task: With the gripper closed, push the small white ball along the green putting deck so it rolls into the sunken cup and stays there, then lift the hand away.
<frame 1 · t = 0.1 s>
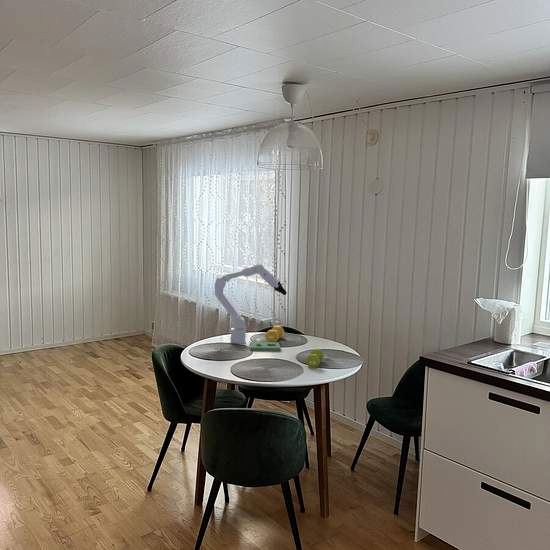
hand: (285, 293, 322), 32 cm above the table, tool tilted 50°, fingers open, 7 cm apart
putting deck: (264, 348, 311), on the table
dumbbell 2: (274, 340, 332), on the table
green grapes: (314, 364, 281), on the table
ball: (258, 342, 310), point 4 cm above the table, touching putting deck
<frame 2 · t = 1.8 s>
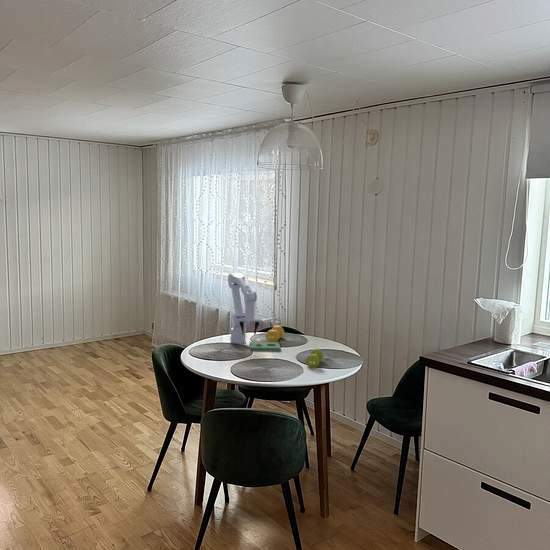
hand: (248, 334, 309), 8 cm above the table, tool pointing down, fingers open, 6 cm apart
nothing on the table moved.
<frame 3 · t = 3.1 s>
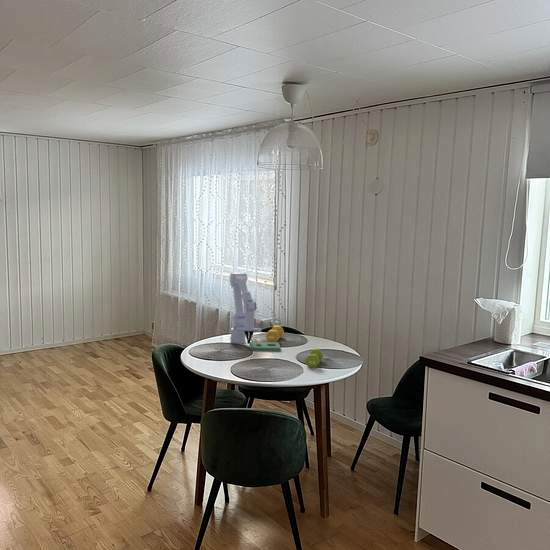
hand: (248, 343, 309), 3 cm above the table, tool pointing down, fingers closed
nothing on the table moved.
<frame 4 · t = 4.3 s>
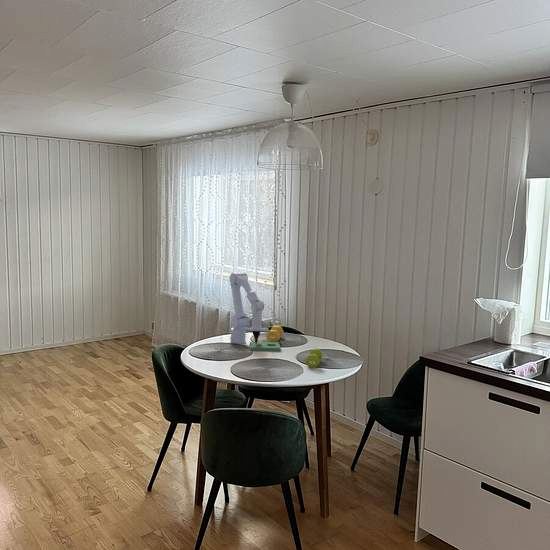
hand: (256, 343, 310), 3 cm above the table, tool pointing down, fingers closed, pressing on ball
ball: (259, 342, 310), point 4 cm above the table, tilted 11°, touching gripper, putting deck
everything else where it was.
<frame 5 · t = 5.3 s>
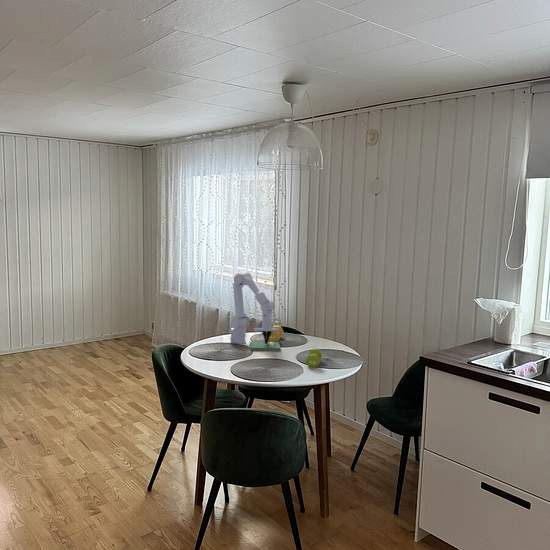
hand: (266, 343, 310), 3 cm above the table, tool pointing down, fingers closed
ball: (271, 345, 311), point 2 cm above the table, tilted 61°, touching putting deck
everything else where it was.
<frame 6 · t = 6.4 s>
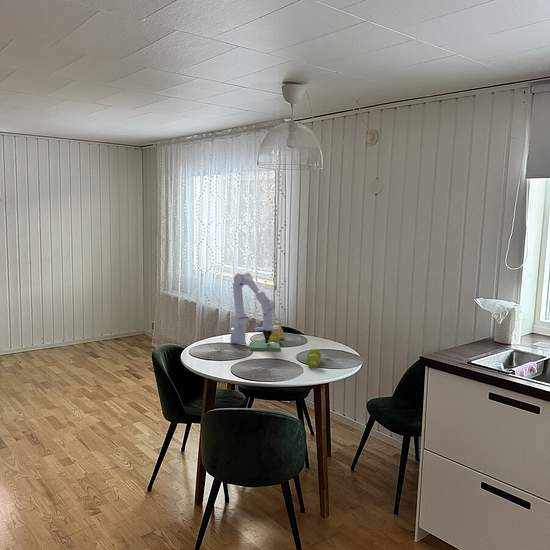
hand: (266, 342, 310), 3 cm above the table, tool pointing down, fingers closed
ball: (272, 344, 311), point 2 cm above the table, tilted 40°, touching putting deck
everything else where it was.
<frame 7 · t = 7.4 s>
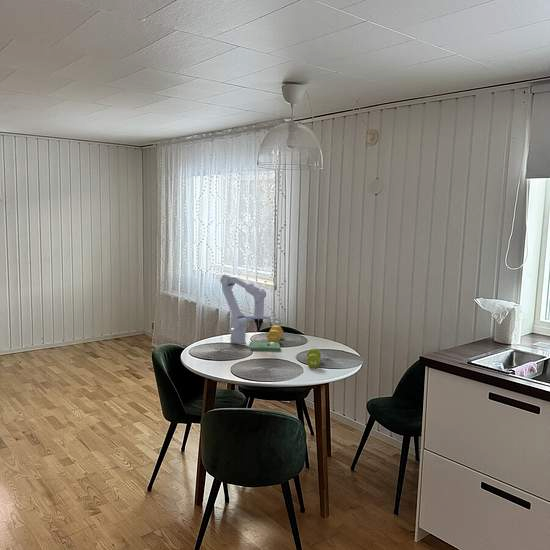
hand: (258, 331, 314), 9 cm above the table, tool pointing down, fingers closed
ball: (272, 344, 311), point 2 cm above the table, tilted 47°, touching putting deck
everything else where it was.
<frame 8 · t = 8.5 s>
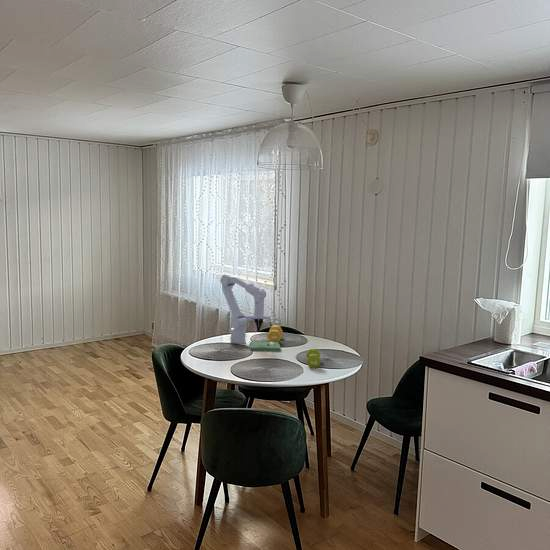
hand: (258, 331, 314), 9 cm above the table, tool pointing down, fingers closed
ball: (271, 344, 311), point 2 cm above the table, tilted 54°, touching putting deck
at the end: ball 0.3 cm from the target spot on the putting deck, point 2.0 cm above the putting deck's base; ball moved 8.4 cm from its start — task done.
